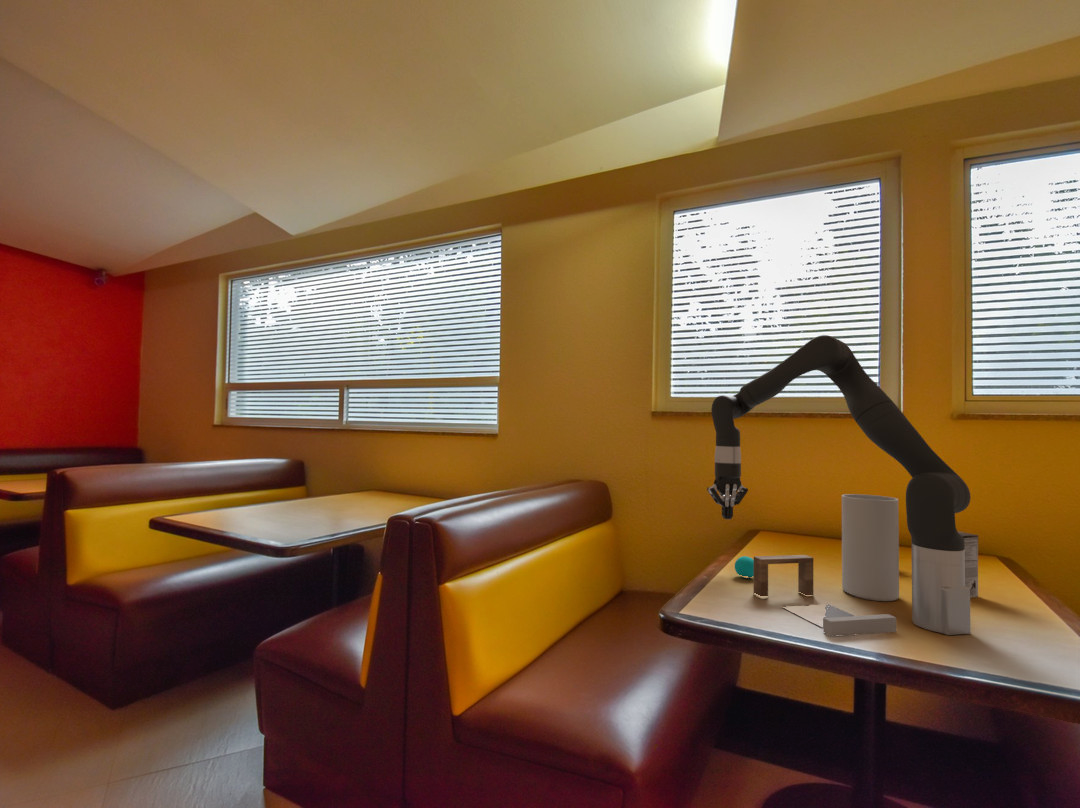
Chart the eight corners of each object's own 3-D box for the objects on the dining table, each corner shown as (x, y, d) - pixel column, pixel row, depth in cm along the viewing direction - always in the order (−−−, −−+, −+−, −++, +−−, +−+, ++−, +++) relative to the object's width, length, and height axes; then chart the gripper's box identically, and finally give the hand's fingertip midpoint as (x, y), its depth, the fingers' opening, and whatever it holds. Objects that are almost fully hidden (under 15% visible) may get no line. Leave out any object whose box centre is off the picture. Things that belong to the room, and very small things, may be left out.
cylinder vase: (831, 590, 138) (831, 495, 140) (860, 584, 144) (860, 493, 145) (880, 605, 127) (880, 501, 129) (909, 598, 133) (908, 499, 134)
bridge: (813, 596, 133) (813, 557, 133) (760, 599, 130) (761, 559, 130) (805, 592, 136) (805, 554, 136) (753, 595, 133) (753, 556, 133)
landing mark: (872, 624, 114) (872, 623, 114) (820, 627, 111) (820, 626, 111) (827, 604, 127) (827, 603, 127) (780, 607, 124) (780, 606, 124)
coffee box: (926, 588, 142) (925, 528, 143) (942, 586, 144) (941, 527, 145) (963, 599, 134) (962, 535, 134) (979, 597, 136) (978, 534, 137)
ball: (761, 580, 146) (761, 558, 146) (742, 581, 145) (742, 559, 145) (748, 574, 152) (749, 553, 152) (730, 575, 151) (730, 554, 151)
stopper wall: (896, 631, 110) (896, 617, 110) (830, 636, 107) (830, 621, 107) (888, 628, 112) (887, 614, 112) (823, 632, 109) (823, 618, 109)
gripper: (714, 462, 154) (714, 521, 153) (754, 462, 157) (754, 520, 156) (701, 460, 161) (700, 517, 161) (740, 460, 164) (739, 516, 163)
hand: (727, 518), depth 158 cm, fingers closed
